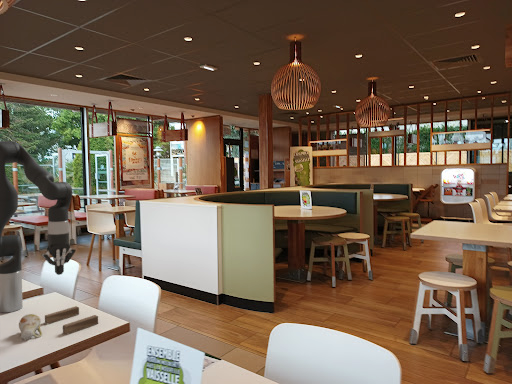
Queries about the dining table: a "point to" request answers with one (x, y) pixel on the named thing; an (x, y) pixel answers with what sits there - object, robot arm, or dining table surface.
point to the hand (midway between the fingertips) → (59, 274)
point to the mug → (30, 326)
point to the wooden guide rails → (74, 325)
